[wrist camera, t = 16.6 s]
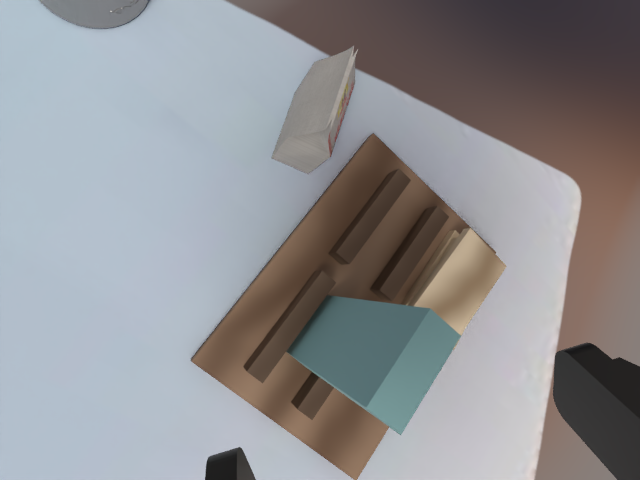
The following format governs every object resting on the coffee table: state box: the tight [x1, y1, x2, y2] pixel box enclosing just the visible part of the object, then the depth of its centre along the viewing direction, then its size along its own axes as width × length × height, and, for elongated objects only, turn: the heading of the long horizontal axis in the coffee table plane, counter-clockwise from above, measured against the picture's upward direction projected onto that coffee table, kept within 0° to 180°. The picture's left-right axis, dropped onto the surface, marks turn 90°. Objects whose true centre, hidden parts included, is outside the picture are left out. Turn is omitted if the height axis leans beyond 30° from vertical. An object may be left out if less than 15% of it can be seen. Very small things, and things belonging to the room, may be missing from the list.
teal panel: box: [286, 295, 461, 435], centre depth 29 cm, size 2×6×16 cm, turn 141°
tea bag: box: [272, 46, 358, 174], centre depth 34 cm, size 4×7×10 cm, turn 161°
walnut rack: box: [191, 133, 496, 480], centre depth 37 cm, size 18×26×3 cm
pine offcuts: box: [400, 228, 506, 350], centre depth 39 cm, size 6×10×3 cm, turn 142°
